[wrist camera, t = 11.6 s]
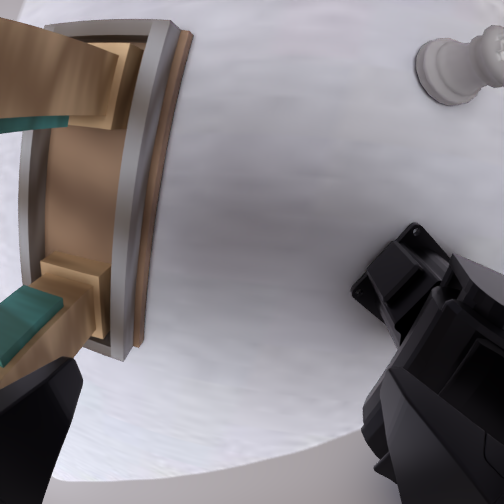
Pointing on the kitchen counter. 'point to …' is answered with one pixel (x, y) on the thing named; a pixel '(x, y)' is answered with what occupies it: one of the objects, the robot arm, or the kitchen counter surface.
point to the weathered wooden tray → (92, 148)
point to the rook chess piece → (461, 66)
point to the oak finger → (53, 314)
